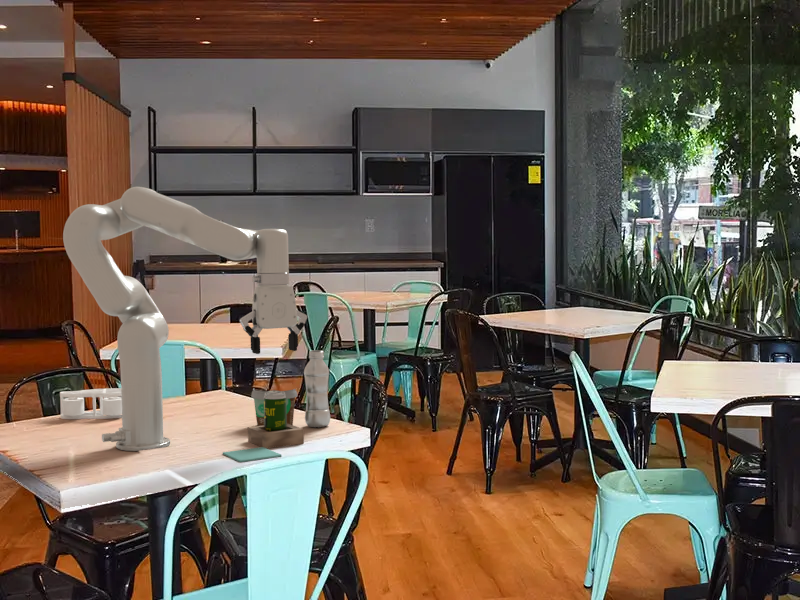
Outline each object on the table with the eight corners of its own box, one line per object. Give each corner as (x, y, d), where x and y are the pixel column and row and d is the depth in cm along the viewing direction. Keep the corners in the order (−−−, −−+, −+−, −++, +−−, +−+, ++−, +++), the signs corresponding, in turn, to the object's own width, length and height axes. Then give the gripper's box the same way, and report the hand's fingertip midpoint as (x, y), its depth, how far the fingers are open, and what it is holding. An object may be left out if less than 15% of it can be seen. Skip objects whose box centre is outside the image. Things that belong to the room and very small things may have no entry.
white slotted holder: (54, 421, 263) (53, 395, 262) (68, 414, 274) (67, 388, 273) (127, 421, 263) (126, 394, 262) (138, 413, 274) (137, 388, 273)
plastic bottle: (334, 427, 249) (333, 351, 248) (310, 430, 246) (309, 353, 245) (324, 423, 255) (323, 349, 254) (300, 426, 252) (299, 350, 250)
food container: (245, 430, 248) (244, 391, 247) (252, 425, 254) (252, 387, 253) (291, 431, 246) (291, 392, 245) (298, 426, 252) (297, 388, 251)
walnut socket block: (265, 448, 225) (265, 433, 225) (248, 441, 233) (247, 427, 233) (303, 443, 230) (303, 429, 230) (285, 436, 239) (285, 422, 238)
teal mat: (240, 462, 211) (240, 460, 211) (222, 454, 220) (222, 452, 220) (281, 456, 217) (281, 454, 217) (262, 448, 225) (262, 446, 225)
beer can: (275, 439, 236) (274, 390, 235) (291, 441, 233) (290, 392, 232) (259, 443, 231) (258, 393, 230) (276, 445, 228) (275, 395, 227)
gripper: (246, 282, 222) (247, 356, 223) (312, 279, 231) (314, 350, 232) (233, 281, 228) (234, 353, 229) (298, 279, 237) (299, 347, 238)
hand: (274, 351), depth 231 cm, fingers open, 9 cm apart
